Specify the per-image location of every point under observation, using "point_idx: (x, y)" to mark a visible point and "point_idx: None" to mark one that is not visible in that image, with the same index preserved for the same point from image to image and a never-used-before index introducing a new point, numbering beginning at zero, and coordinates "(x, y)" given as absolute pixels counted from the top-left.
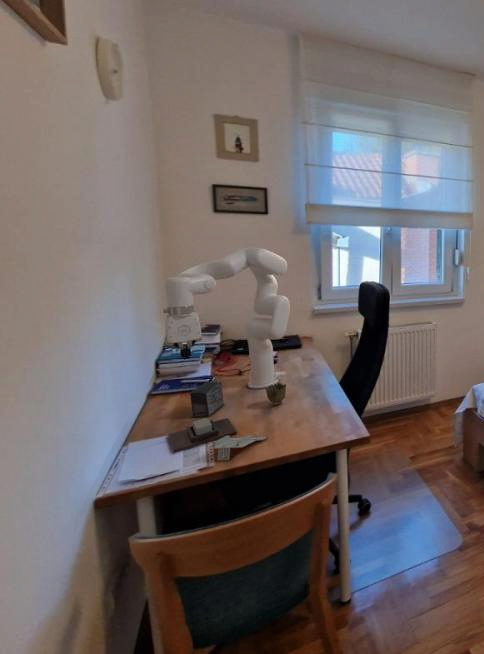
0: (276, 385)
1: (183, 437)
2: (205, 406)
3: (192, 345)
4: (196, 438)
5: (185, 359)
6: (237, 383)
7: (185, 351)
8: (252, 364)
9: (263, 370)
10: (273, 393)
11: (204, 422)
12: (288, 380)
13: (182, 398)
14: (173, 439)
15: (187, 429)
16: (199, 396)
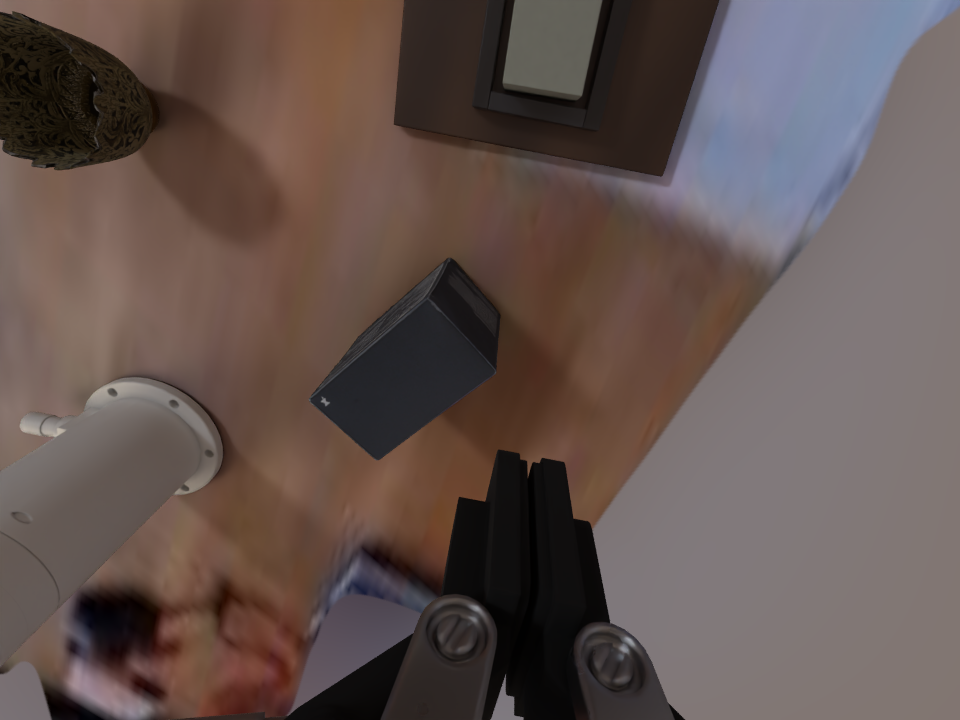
0: (38, 157)
1: (641, 52)
2: (450, 280)
3: (387, 652)
4: None
5: (546, 460)
6: (254, 517)
7: (543, 561)
8: (106, 510)
9: (85, 445)
10: (76, 41)
11: (542, 9)
12: (49, 381)
13: None
14: (680, 76)
15: (608, 91)
16: (462, 319)
